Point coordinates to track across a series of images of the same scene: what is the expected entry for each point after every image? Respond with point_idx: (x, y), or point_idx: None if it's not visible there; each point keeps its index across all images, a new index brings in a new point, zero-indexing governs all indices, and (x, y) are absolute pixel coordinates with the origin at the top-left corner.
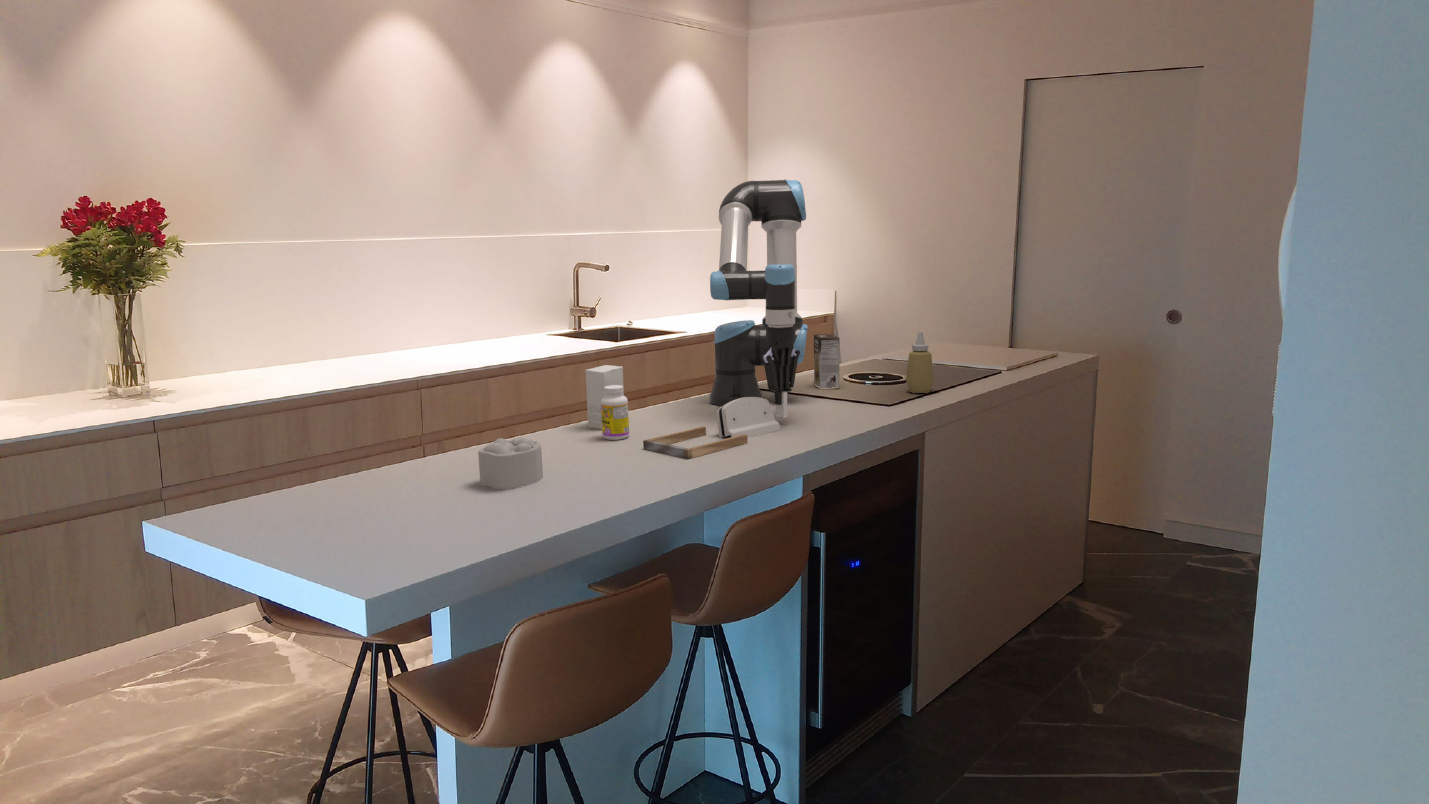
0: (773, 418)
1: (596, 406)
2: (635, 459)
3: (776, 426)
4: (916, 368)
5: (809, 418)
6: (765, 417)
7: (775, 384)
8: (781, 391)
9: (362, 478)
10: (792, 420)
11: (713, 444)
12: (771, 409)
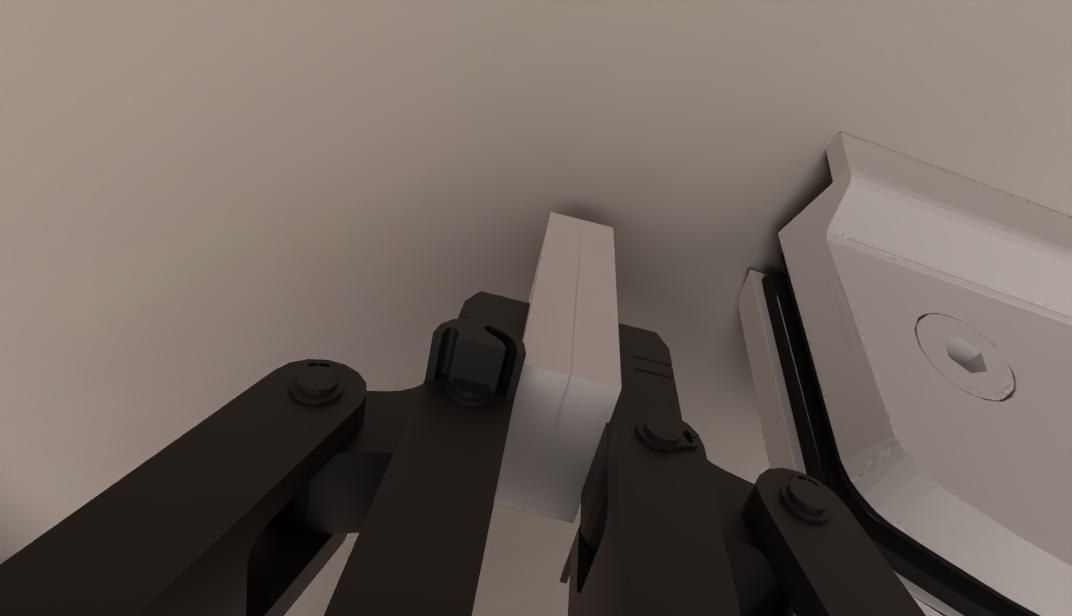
0: (847, 259)
1: None
2: None
3: (893, 172)
4: None
5: (211, 98)
6: (962, 319)
7: (892, 597)
8: (667, 422)
9: None
10: (383, 214)
11: None
12: (861, 338)
